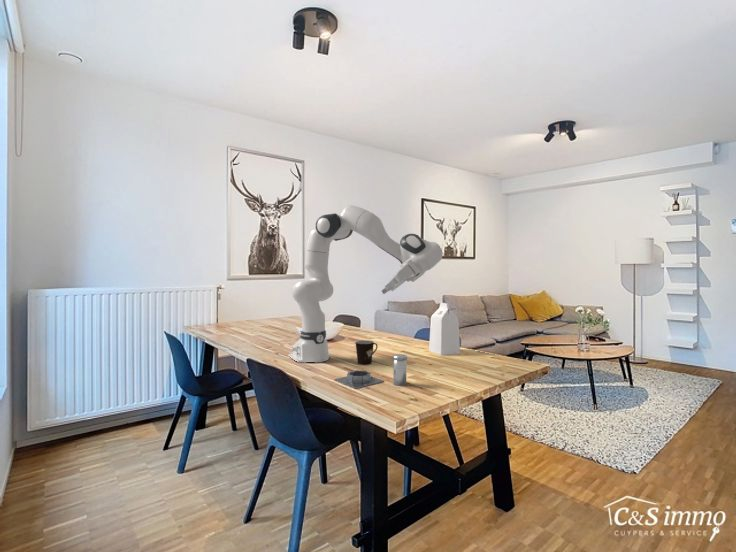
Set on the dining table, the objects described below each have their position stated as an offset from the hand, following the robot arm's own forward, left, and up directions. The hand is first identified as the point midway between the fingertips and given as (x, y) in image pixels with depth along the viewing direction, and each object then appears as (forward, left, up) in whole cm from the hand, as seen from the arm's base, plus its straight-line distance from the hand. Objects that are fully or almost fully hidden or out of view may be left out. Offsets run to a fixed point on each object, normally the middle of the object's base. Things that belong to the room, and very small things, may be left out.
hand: (384, 290), depth 157 cm
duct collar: (-4, -10, -36) cm, 37 cm away
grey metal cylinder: (+9, 0, -36) cm, 37 cm away
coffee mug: (-24, +11, -36) cm, 44 cm away
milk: (-16, +57, -36) cm, 69 cm away
